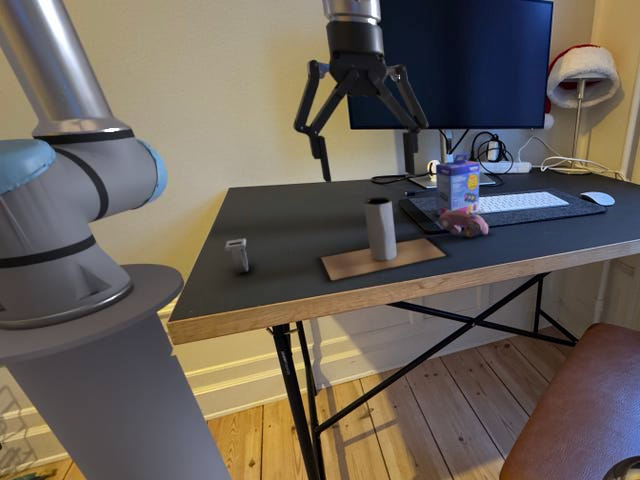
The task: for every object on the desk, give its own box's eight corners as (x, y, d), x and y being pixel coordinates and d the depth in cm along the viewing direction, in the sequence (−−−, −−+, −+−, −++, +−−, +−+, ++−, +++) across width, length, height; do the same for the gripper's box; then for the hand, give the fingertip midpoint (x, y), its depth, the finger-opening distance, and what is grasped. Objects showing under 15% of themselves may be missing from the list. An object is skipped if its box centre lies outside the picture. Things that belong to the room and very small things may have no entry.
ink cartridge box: (451, 220, 86) (449, 156, 79) (436, 215, 89) (433, 153, 83) (480, 211, 92) (480, 151, 86) (464, 207, 96) (464, 149, 89)
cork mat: (331, 281, 58) (331, 279, 58) (321, 258, 66) (321, 257, 66) (445, 256, 67) (445, 255, 67) (424, 238, 75) (424, 238, 75)
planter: (366, 260, 65) (358, 203, 60) (377, 250, 69) (370, 196, 64) (391, 262, 64) (384, 204, 60) (400, 252, 68) (395, 197, 64)
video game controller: (441, 240, 79) (433, 216, 73) (448, 225, 81) (441, 201, 76) (484, 246, 76) (479, 221, 70) (491, 230, 78) (486, 205, 73)
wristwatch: (235, 265, 63) (226, 238, 61) (253, 262, 64) (245, 235, 62) (232, 279, 58) (223, 250, 56) (252, 276, 60) (244, 247, 57)
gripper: (251, 7, 43) (290, 189, 52) (446, 28, 54) (448, 174, 63) (250, 17, 48) (285, 179, 58) (426, 34, 60) (431, 166, 69)
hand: (370, 176), depth 61 cm, fingers open, 13 cm apart
